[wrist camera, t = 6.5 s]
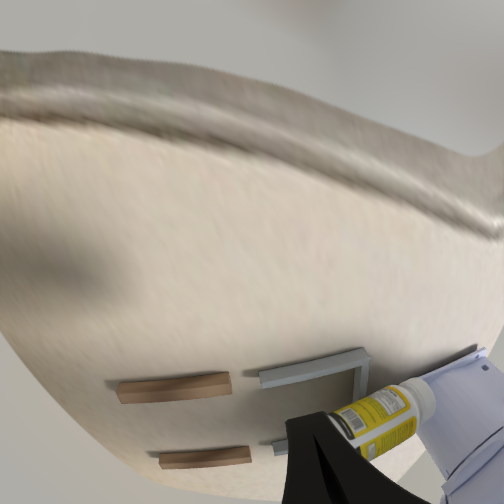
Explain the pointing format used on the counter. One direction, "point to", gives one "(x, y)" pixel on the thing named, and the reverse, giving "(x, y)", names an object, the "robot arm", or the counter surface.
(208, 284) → the counter surface
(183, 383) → the rails
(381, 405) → the supplement bottle
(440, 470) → the robot arm
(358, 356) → the bay
